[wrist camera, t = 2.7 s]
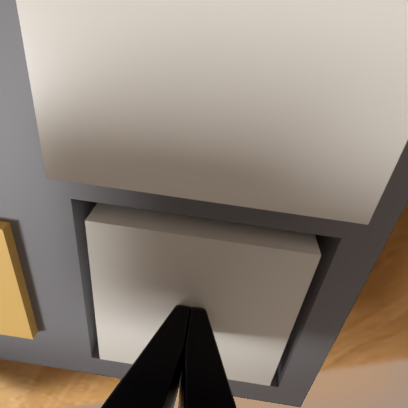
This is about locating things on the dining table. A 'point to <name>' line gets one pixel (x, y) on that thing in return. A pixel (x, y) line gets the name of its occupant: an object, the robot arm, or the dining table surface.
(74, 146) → the key middle
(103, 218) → the key
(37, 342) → the key panel
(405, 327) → the dining table surface
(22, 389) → the dining table surface
